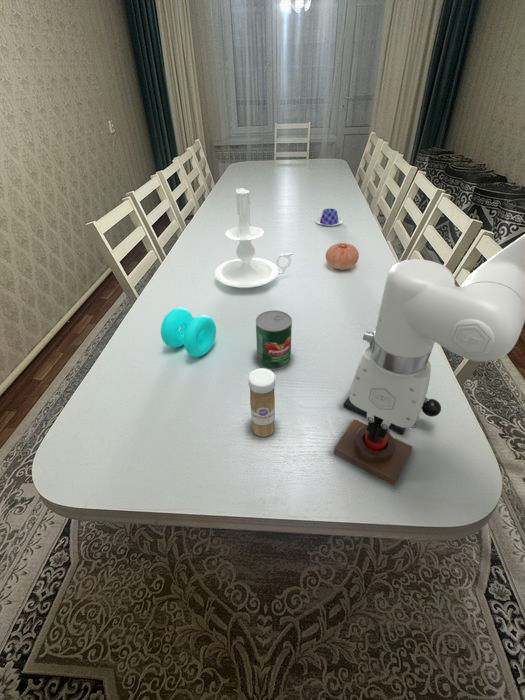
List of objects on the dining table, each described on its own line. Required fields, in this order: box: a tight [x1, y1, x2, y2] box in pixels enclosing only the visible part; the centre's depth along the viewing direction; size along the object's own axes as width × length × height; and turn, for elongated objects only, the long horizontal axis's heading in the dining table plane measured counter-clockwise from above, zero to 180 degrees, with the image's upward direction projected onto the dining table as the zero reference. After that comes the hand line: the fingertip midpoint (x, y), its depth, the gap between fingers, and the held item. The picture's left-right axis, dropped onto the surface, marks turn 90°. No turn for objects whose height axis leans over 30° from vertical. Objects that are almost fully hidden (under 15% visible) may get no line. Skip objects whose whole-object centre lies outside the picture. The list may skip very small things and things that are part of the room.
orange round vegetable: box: [325, 242, 360, 271], centre depth 119 cm, size 11×11×8 cm
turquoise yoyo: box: [160, 306, 217, 358], centre depth 85 cm, size 10×10×10 cm
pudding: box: [314, 208, 344, 227], centre depth 154 cm, size 12×12×5 cm
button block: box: [333, 418, 413, 487], centre depth 62 cm, size 11×8×4 cm
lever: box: [421, 396, 442, 418], centre depth 65 cm, size 13×3×3 cm
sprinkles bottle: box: [248, 367, 276, 438], centre depth 64 cm, size 5×5×13 cm
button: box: [364, 431, 388, 451], centre depth 61 cm, size 4×4×2 cm
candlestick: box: [213, 187, 293, 289], centre depth 107 cm, size 21×25×28 cm
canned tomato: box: [255, 310, 293, 371], centre depth 81 cm, size 8×8×11 cm
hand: (375, 435), depth 60 cm, fingers closed
